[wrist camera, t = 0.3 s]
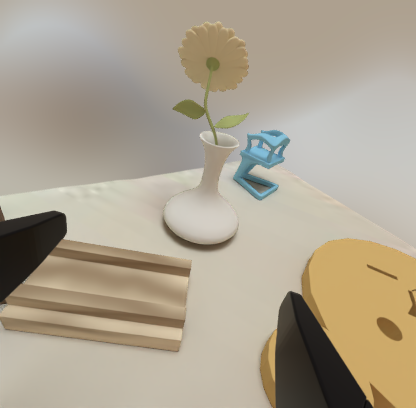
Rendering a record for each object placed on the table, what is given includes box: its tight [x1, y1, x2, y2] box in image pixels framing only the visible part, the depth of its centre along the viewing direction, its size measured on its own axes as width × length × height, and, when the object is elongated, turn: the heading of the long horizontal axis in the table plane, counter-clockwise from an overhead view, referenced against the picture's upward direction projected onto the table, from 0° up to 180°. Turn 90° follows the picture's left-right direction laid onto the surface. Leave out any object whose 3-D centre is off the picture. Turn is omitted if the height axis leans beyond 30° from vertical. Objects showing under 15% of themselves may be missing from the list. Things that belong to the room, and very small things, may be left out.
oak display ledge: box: [0, 239, 192, 351], centre depth 24 cm, size 9×15×3 cm, turn 88°
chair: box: [233, 130, 290, 200], centre depth 48 cm, size 8×8×12 cm
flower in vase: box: [163, 22, 249, 244], centre depth 31 cm, size 13×11×25 cm
